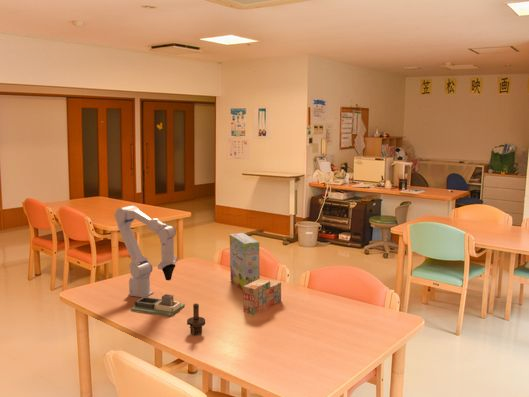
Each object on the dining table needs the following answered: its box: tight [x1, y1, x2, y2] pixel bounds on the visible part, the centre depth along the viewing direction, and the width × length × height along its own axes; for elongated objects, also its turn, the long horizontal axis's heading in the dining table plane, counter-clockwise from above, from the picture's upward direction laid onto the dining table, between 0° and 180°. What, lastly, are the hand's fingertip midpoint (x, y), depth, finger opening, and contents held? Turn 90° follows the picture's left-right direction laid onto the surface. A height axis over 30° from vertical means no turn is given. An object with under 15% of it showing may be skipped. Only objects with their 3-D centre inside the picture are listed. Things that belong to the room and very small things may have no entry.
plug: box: [161, 294, 175, 307], centre depth 226 cm, size 4×3×6 cm
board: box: [130, 296, 186, 317], centre depth 228 cm, size 20×13×3 cm, turn 70°
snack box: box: [228, 232, 261, 291], centre depth 257 cm, size 22×9×26 cm, turn 25°
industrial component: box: [186, 302, 206, 336], centre depth 202 cm, size 9×7×12 cm
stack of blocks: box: [242, 278, 282, 315], centre depth 230 cm, size 21×6×12 cm, turn 144°
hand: (168, 279), depth 237 cm, fingers closed
